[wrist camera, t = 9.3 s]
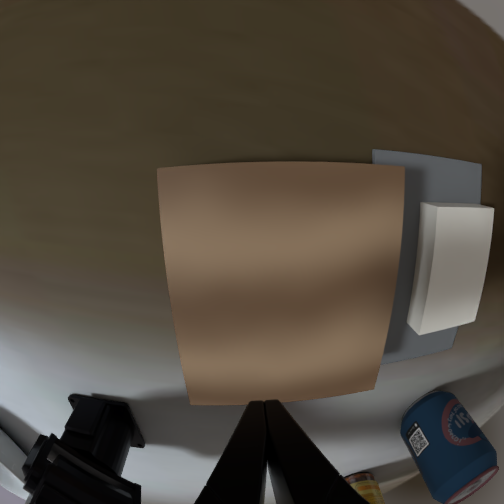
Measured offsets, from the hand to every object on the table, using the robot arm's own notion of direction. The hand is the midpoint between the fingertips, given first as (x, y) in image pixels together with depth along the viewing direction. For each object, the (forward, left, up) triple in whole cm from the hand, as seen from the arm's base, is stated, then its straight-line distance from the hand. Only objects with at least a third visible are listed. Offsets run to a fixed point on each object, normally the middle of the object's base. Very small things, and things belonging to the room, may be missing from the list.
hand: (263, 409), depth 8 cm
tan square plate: (0, -2, -11) cm, 11 cm away
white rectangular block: (0, -15, -9) cm, 17 cm away
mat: (0, -13, -11) cm, 17 cm away
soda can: (-17, -18, -11) cm, 27 cm away
